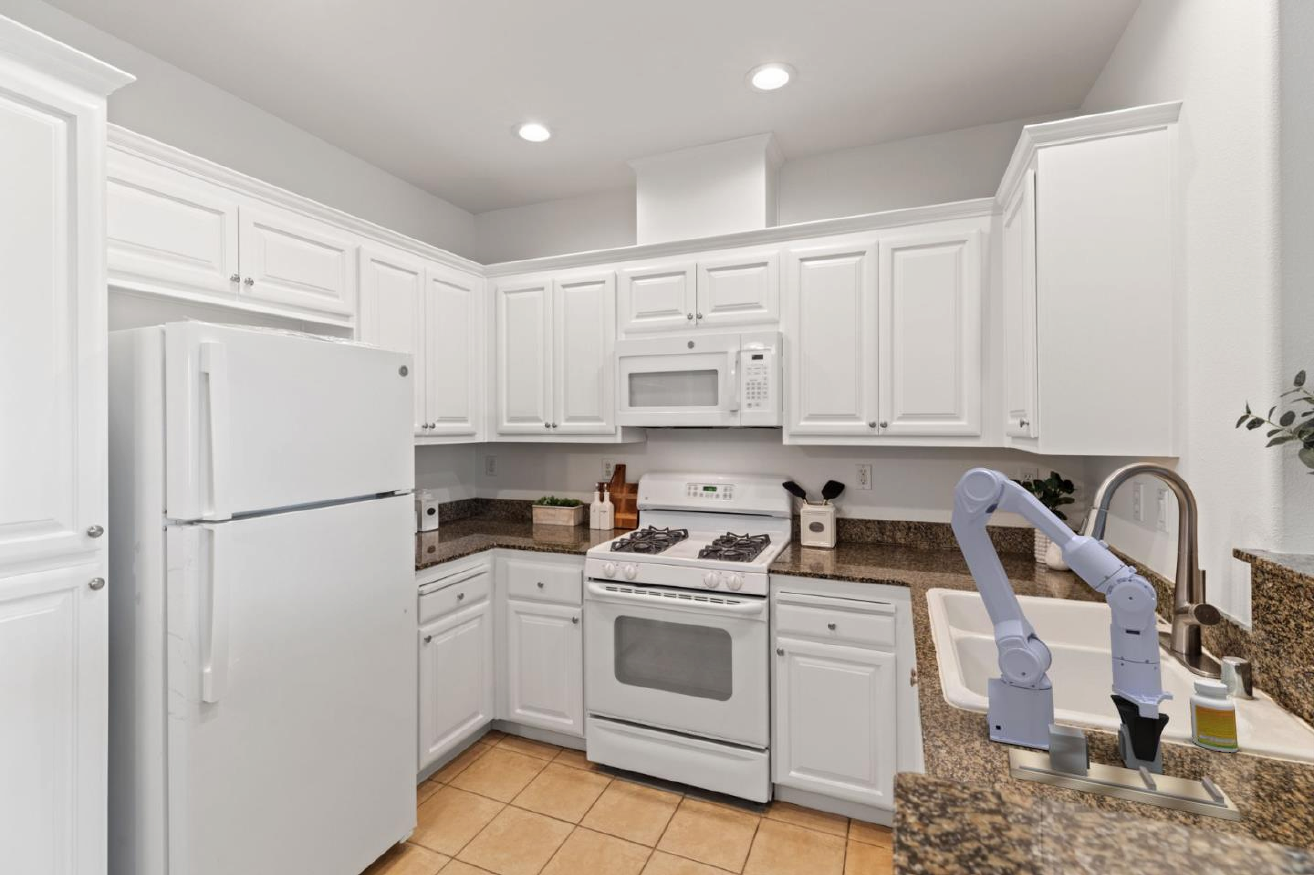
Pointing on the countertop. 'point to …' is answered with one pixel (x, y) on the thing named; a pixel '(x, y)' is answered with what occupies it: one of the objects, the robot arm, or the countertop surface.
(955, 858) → the countertop surface
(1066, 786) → the rail
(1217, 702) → the supplement bottle
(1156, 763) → the finger part
